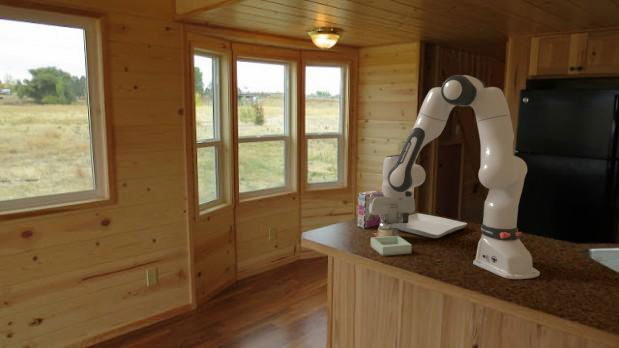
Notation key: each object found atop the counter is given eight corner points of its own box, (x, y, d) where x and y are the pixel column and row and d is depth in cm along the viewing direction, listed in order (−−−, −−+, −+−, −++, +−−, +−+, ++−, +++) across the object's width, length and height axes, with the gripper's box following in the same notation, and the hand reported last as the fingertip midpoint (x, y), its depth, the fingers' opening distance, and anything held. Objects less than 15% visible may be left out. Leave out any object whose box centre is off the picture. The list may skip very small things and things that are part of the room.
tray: (411, 253, 165) (411, 244, 165) (382, 255, 162) (382, 247, 162) (397, 243, 177) (398, 235, 176) (370, 245, 174) (370, 237, 173)
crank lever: (381, 230, 176) (382, 216, 175) (377, 226, 180) (377, 213, 180) (411, 228, 178) (411, 214, 177) (406, 225, 183) (406, 211, 182)
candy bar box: (364, 229, 197) (365, 194, 194) (356, 227, 200) (357, 192, 198) (380, 225, 204) (381, 191, 201) (372, 222, 207) (373, 189, 205)
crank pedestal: (394, 243, 177) (394, 230, 176) (381, 244, 176) (381, 231, 175) (381, 233, 191) (381, 221, 190) (368, 234, 189) (368, 222, 188)
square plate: (468, 230, 197) (468, 222, 196) (437, 243, 178) (437, 234, 178) (417, 219, 216) (417, 211, 216) (384, 229, 198) (384, 221, 197)
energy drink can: (397, 239, 182) (399, 205, 180) (383, 238, 183) (384, 204, 181) (397, 235, 188) (399, 202, 185) (384, 234, 189) (385, 201, 187)
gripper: (372, 194, 177) (371, 226, 179) (417, 192, 182) (415, 223, 184) (366, 191, 183) (366, 222, 185) (410, 189, 188) (409, 220, 190)
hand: (391, 223), depth 184 cm, fingers closed on energy drink can, 6 cm apart
